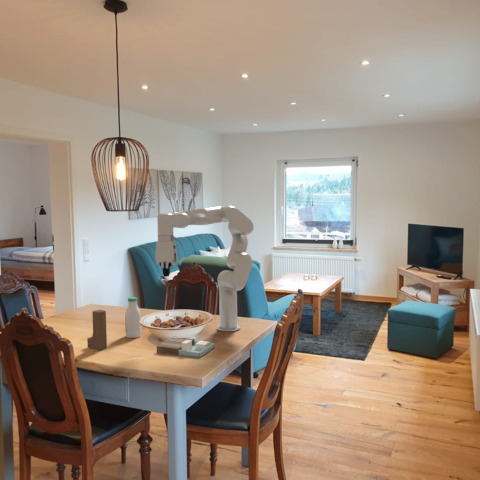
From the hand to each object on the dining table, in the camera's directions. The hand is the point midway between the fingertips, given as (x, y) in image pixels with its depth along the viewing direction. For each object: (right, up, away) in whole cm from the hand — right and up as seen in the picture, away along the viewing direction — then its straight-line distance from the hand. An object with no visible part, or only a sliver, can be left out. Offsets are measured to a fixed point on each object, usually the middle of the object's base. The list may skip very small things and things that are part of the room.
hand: (166, 276), depth 224 cm
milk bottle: (-18, -32, +10) cm, 38 cm away
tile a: (+19, -30, -12) cm, 37 cm away
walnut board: (+6, -33, -11) cm, 35 cm away
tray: (+16, -33, -15) cm, 40 cm away
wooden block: (-31, -33, -9) cm, 46 cm away
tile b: (+11, -31, -17) cm, 37 cm away
